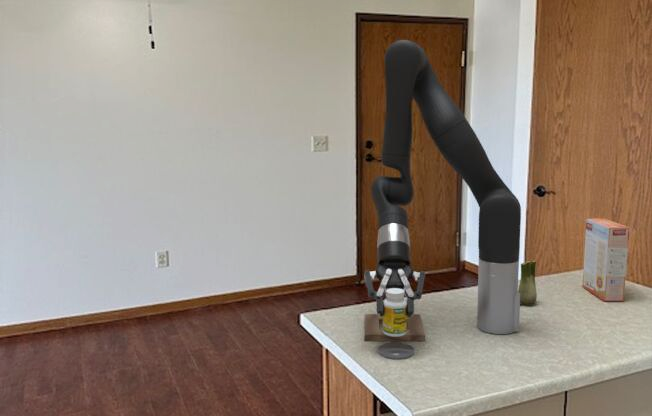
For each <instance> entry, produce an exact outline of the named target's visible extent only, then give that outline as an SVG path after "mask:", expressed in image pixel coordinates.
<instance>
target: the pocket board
mask: <svg viewBox="0 0 652 416" xmlns="http://www.w3.org/2000/svg"><path fill="white" fill-rule="evenodd" d="M380 325H381V326H383V316H380V314H377V313H364V329H363V330H364V332H363V333H364V337H363V338H364V339H363V340H364V342H426V332H425V328H424V324H423V320H422V316H421V314H420V313H419V314H418V313H413V314H411V317H407V332H406V334H405V335H403V336H398V337H393V336H388V335H386V334H384V333H383V328H382V329H380Z"/></svg>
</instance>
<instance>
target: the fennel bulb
mask: <svg viewBox="0 0 652 416" xmlns="http://www.w3.org/2000/svg"><path fill="white" fill-rule="evenodd" d="M536 264H537V262H536V260H528V261H525V262H522V263H520V281H519V284H518V292H519V293H520V305H521V306H531V305H534V304H535V303H536V302H537V300H538V299H537V297H538V296H537V287H536Z"/></svg>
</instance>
